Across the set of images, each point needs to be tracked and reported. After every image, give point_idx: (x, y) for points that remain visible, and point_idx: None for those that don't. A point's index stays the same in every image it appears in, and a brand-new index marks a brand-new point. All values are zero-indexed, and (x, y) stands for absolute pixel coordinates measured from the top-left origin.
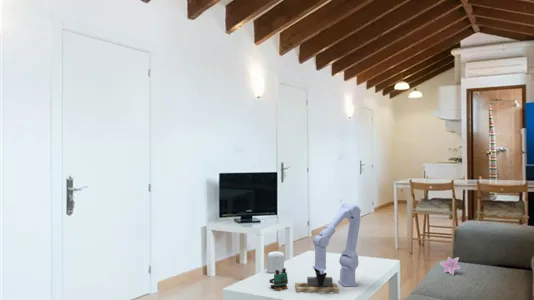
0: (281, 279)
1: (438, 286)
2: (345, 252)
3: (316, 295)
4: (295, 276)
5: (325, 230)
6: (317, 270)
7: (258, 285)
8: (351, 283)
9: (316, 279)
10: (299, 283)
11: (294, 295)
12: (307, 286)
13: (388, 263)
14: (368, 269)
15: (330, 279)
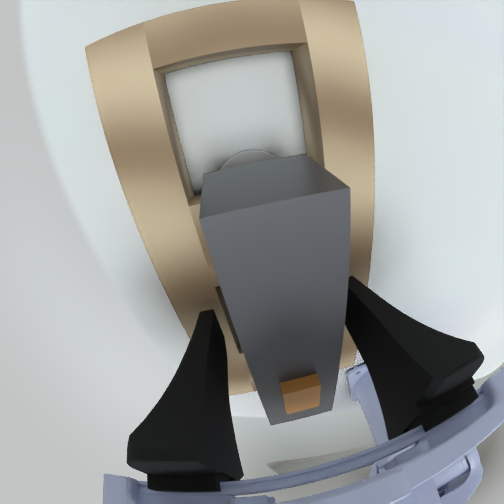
0: None
1: (333, 459)
2: (453, 500)
3: (100, 261)
4: None
5: None
6: (410, 393)
7: None
8: (357, 396)
9: (239, 337)
10: (327, 47)
11: (28, 73)
12: (311, 148)
13: (493, 367)
14: (487, 355)
15: (268, 416)
